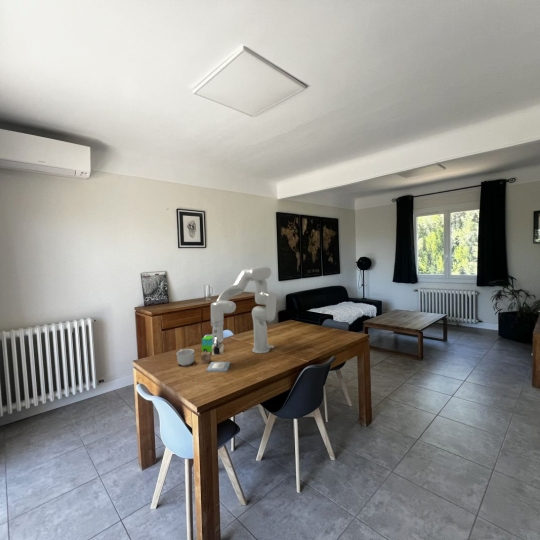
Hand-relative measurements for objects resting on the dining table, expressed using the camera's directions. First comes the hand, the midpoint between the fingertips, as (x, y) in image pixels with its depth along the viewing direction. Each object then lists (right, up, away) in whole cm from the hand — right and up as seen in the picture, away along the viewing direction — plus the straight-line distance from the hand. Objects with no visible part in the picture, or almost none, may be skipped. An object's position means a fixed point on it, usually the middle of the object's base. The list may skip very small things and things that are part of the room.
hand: (217, 352), depth 169 cm
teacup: (-22, -10, +9) cm, 26 cm away
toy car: (-9, -9, +31) cm, 33 cm away
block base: (0, -1, 0) cm, 1 cm away
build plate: (0, -9, +1) cm, 9 cm away
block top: (-9, -9, +10) cm, 17 cm away
